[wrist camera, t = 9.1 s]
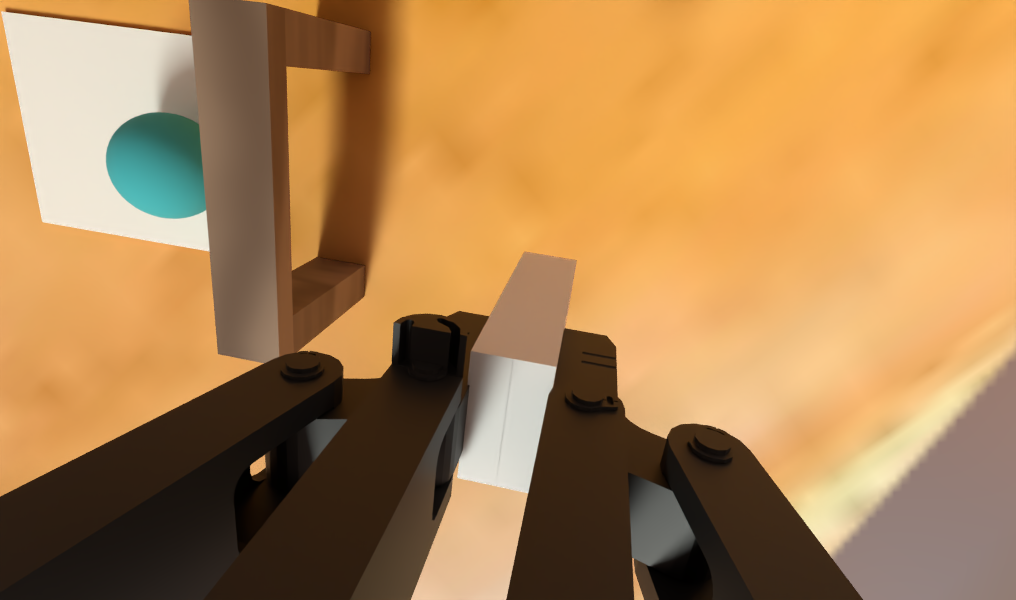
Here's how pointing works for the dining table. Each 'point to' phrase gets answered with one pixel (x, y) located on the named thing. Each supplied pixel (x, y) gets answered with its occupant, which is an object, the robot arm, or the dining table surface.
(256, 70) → the bridge
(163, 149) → the ball
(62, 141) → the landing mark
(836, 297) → the dining table surface
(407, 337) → the robot arm
